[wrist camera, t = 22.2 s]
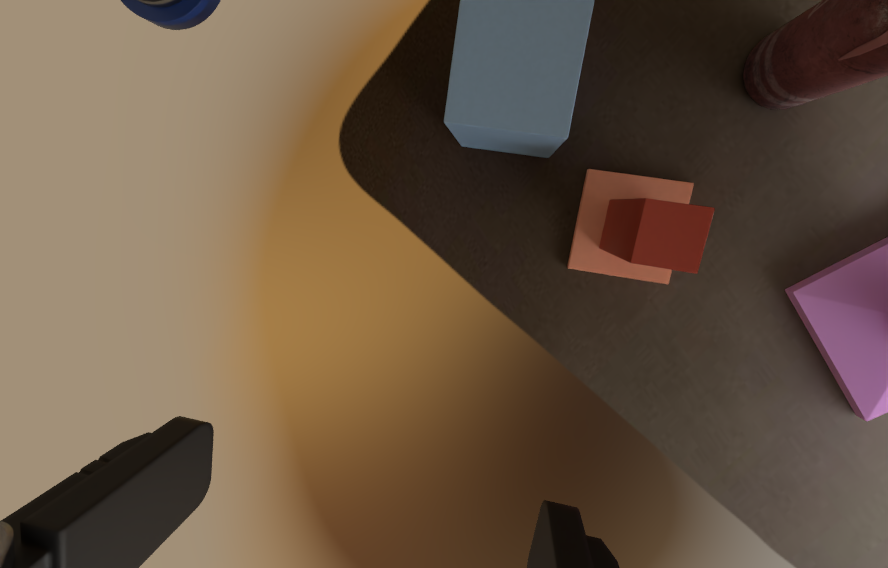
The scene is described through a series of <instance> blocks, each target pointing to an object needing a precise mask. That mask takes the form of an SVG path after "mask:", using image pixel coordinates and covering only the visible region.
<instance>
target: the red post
mask: <svg viewBox="0 0 888 568" xmlns="http://www.w3.org/2000/svg"><path fill="white" fill-rule="evenodd" d="M714 210H715V208H712V207H705V206H698V205H691V204H684V203H677V202H670V201H663V200H656V199H649V198H636V199H611V200H609V205H608V209H607V214H606V218H605V223H604V227H603V232H602V237H601V241H600V246H599V248H600V249H602V250H604V251H606V252H608V253H610V254H612V255H615V256H617V257H619V258H621V259H623V260H625V261H627V262H629V263H633V264H639V265H645V266H652V267H658V268H664V269H671V270H677V271H683V272H689V273H696V274H697V273H698V269H699V265H700V262H701V258H702V254H703V251H704V247H705V243H706V240H707V236H708V232H709V229H710V225H711V221H712V217H713V214H714Z"/></svg>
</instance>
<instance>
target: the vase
mask: <svg viewBox="0 0 888 568" xmlns="http://www.w3.org/2000/svg"><path fill="white" fill-rule="evenodd" d="M784 290H785V292H786V293H787V295H788V297H789V299H790V300H791V302H792V304H793V306H794V307H795V309H796V311H797V313H798V314H799V316H800V318H801V320H802V321H803V323H804V325H805V327H806V328H807V330H808V332H809V334H810V335H811V337H812V339H813V341H814V342H815V344H816V346H817V348H818V349H819V351H820V353H821V355H822V356H823V358H824V360H825V362H826V363H827V365H828V367H829V369H830V370H831V372H832V374H833V376H834V377H835V379H836V381H837V383H838V385H839V386H840V388H841V390H842V392H843V393H844V395H845V397H846V399H847V400H848V402H849V404H850V406H851V407H852V409H853V411H854V413H855V414H856V415H857V416H858V417H860V418H862V419H863V420H865V421H869V420H871V419H873V418H876V417H878V416H880V415H883V414H885V413H887V412H888V237H886V238H884V239H882V240H880V241H878V242H876V243H874V244H872V245H870V246H868V247H866V248H864V249H863V250H861V251H859V252H857V253H855V254H853V255H851V256H849V257H847V258H845V259H843V260H841V261H839V262H837V263H835V264H833V265H831V266H829V267H827V268H825V269H824V270H822V271H820V272H818V273H816V274H814V275H812V276H810V277H808V278H806V279H804V280H802V281H800V282H798V283H796V284H794V285H792V286H790V287H788V288H786V289H784Z"/></svg>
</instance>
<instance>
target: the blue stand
mask: <svg viewBox="0 0 888 568" xmlns="http://www.w3.org/2000/svg"><path fill="white" fill-rule="evenodd" d="M593 5H594V0H460V5H459V13H458V20H457V27H456V35H455V42H454V49H453V57H452V64H451V71H450V79H449V86H448V93H447V101H446V108H445V115H444V123H445V125H446V126H447V127H448V129H449V130H450V131H451V133H452V134H453V135H454V137H455V138H456V139H457V141H458V142H459V143H460V145H461V146H462V147H470V148H477V149H485V150H492V151H499V152H507V153H514V154H522V155H529V156H537V157H544V158H549V157H550V156H551V155H552V154H553V153H554V152H555V151H556V150H557V149H558V148H559V147H560V146H561V144H562V143H563V142H564V141H565V140H566V139H567V138H568V135H569V129H570V124H571V119H572V114H573V109H574V104H575V98H576V93H577V88H578V83H579V78H580V73H581V67H582V62H583V57H584V52H585V47H586V42H587V36H588V31H589V26H590V21H591V16H592V11H593Z"/></svg>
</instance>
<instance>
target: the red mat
mask: <svg viewBox="0 0 888 568" xmlns="http://www.w3.org/2000/svg"><path fill="white" fill-rule="evenodd" d="M693 186H694V183H689V182H682V181H674V180H667V179H660V178H652V177H645V176H638V175H630V174H623V173H616V172H608V171H601V170H593V169H587V172H586V177H585V182H584V186H583V191H582V196H581V201H580V206H579V211H578V216H577V221H576V225H575V230H574V235H573V240H572V245H571V250H570V255H569V260H568V264H567V268H570V269H576V270H582V271H588V272H594V273H601V274H607V275H613V276H619V277H625V278H632V279H638V280H644V281H650V282H657V283H663V284H668V283H669V279H670V276H671V272H672V270H671V269H664V268H658V267H652V266H645V265H639V264H633V263H629V262H627V261H625V260H623V259H621V258H619V257H617V256H615V255H612V254H610V253H608V252H606V251H604V250H602V249H600V248H599V246H600V241H601V237H602V232H603V227H604V223H605V218H606V214H607V209H608V205H609V200H611V199H636V198H649V199H656V200H663V201H670V202H677V203H684V204H689V201H690V197H691V193H692V190H693Z"/></svg>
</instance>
